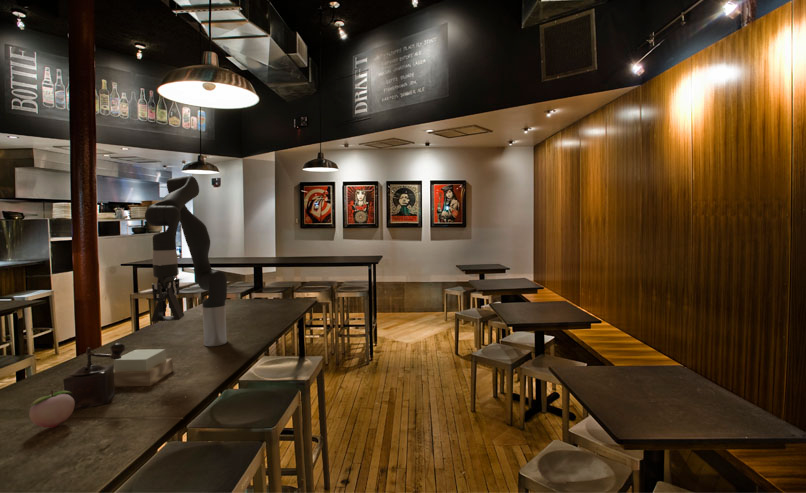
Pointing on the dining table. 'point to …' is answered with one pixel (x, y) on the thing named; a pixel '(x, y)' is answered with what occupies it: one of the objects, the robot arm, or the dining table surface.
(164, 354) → the tower top
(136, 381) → the tower base
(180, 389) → the dining table surface
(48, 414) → the decorative fruit
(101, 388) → the manual coffee grinder
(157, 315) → the phone stand
